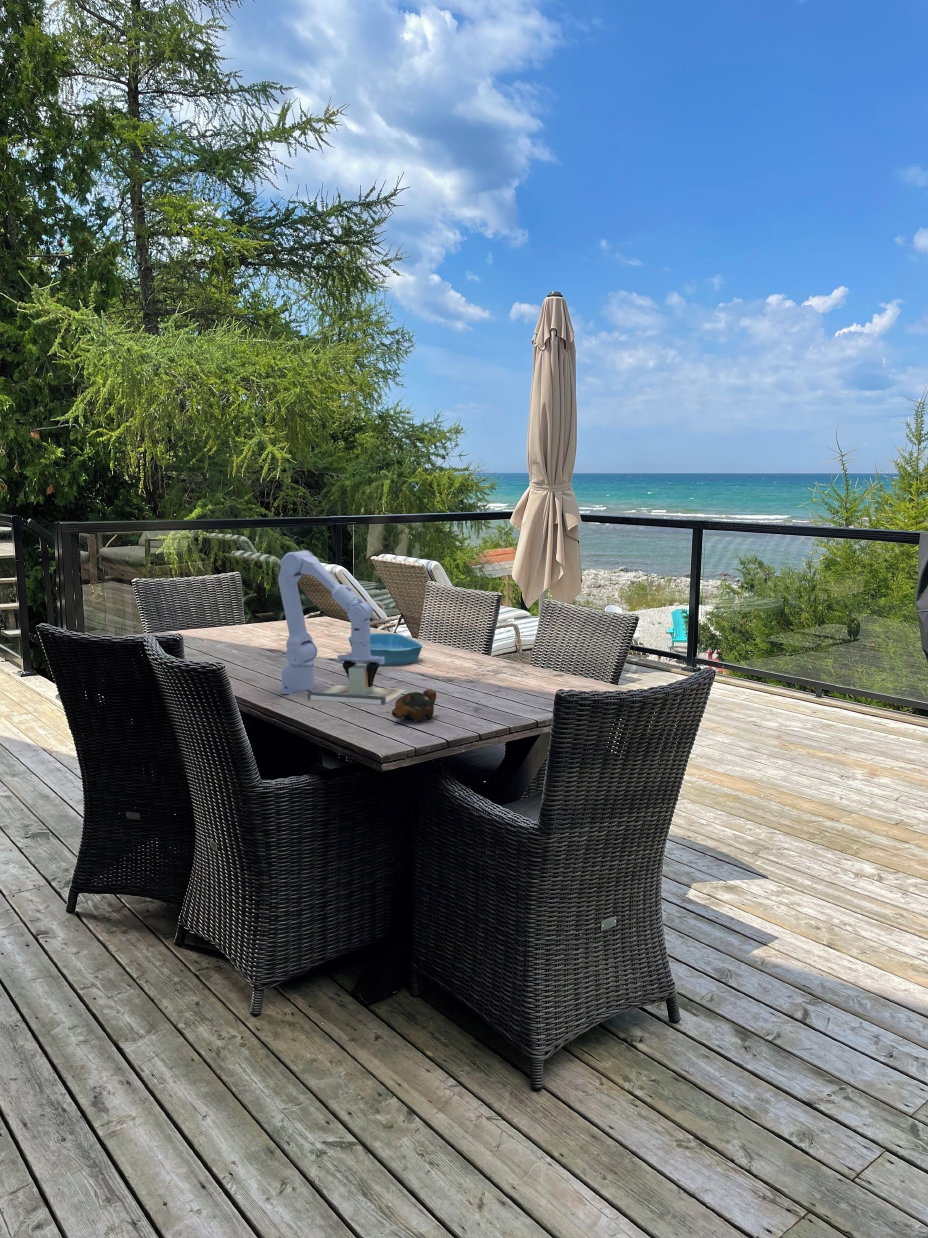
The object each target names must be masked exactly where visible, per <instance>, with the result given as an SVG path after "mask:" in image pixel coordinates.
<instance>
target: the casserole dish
mask: <svg viewBox="0 0 928 1238" xmlns="http://www.w3.org/2000/svg"><path fill="white" fill-rule="evenodd" d="M348 641H349V643H350V646H351V635H350V636H349V637H348ZM422 648H423V644H422V643H420V642H418V641H416V640H414V639H412V638H410V637H408V636H405V635H403V634H400V633H388V632H387V633H386V632H385V633H384V632H383V633H382V632H370V655H372V656H379V657H385V663H384V664H380V665H379V667H383V666H396V665H398V666H399V665H409V664H414V663H415V662H416V661H417V660H418V659H419V657H420V654H421V651H422Z"/></svg>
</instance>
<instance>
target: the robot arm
mask: <svg viewBox="0 0 928 1238" xmlns="http://www.w3.org/2000/svg"><path fill="white" fill-rule="evenodd" d="M279 562H280V563H279V564H280V570H279V572H278V573H279V574H278V577H277V581H278V586H279V587H278V588H279V591H280V596H281V600H282V606H283V610H284V615H285V621H286V625H287V630H288V636H289V637H287V641H286V652H285V658H286V661H287V662H288V663H287V664H284V665H283V667H282V670H281V685H282V686H281V687H282V689H281V692H280V693H281V694H283V695H291V694H293V693H296V692H298V691H311V690H313V689H315V664H314V662H315V658H316V657H317V655H318V647H317V645H316V644H315V643H314V640H313V637H312V635H311V634H310V633H309V632H308V631H307V626H306V621H305V617H304V612H303V607H302V601H301V597H300V592H299V586H298V581H300V579H301V578H302V576H303V575H309V576H313V577H314V579H316V580H317V581H318V582H319V583H320V584H322V585H323V586H324V587H325V588H326V589H327V590H329V591H330V592H331V598H332V599H333V601H335V602H336V603H337V604H338V605H339V606H340V608H342V609H343V611H345V612H346V615H347V618H348V619H349V621H350V631H351V632H350V636H351V645H350V647H351V648H350V649H351V654H339V655H337V663H342V668H343V670H344V671H345V674H346V675H347V679H348V680H349V668H350V667H352V666H354V665H356V663H357V664H366V665H367V672H368V687H372V686H373V687H374V681H375V677H376V673H377V671H378V669H379V667H380V666H379V665H380V664H384V663H385V657H379V656H372V655H370V633H371V617H373V614H374V610H373V607H372V605H371V604H370V602H368V601H366V600H363V598H362V597H359V596H358V595H357V594H356V593H355V592H354V591H353V590H352V588H353V587H351V586H350V585H346V584H340V583H339V582H338V580H336V579H335V577H333V575H332V574H331V573H330V572H329V571H328V570H327V569H326V567H324V566H323V564H322V563H321V562H320V560H319V559H318V557H316V556H315V555H314V554H313V553H312V552H311V551H309V550H306V549H303V550H300V551H290V552H287V553H285V554H284V556H282V558H281V559H280V561H279Z"/></svg>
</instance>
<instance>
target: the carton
mask: <svg viewBox="0 0 928 1238" xmlns="http://www.w3.org/2000/svg"><path fill="white" fill-rule="evenodd" d="M367 665H368V664H365V663H357V664H355V665H354V666H352V667H350V668H349V679H348V686H349V694H352V695H366V694H368V693H369V692H371V691H373V688H374V685H373V686H372V687H368V672H367Z"/></svg>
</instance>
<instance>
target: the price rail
mask: <svg viewBox="0 0 928 1238" xmlns="http://www.w3.org/2000/svg"><path fill="white" fill-rule="evenodd" d="M321 692H322V691H320V692H318V691H308V692H307V700H309V701H310V700H311V701H323V702H336V703H337V702H339V703H354V704H369V705H386V704H387V703H386V697H382V696H367V695H352V694H336V693H321Z"/></svg>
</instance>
